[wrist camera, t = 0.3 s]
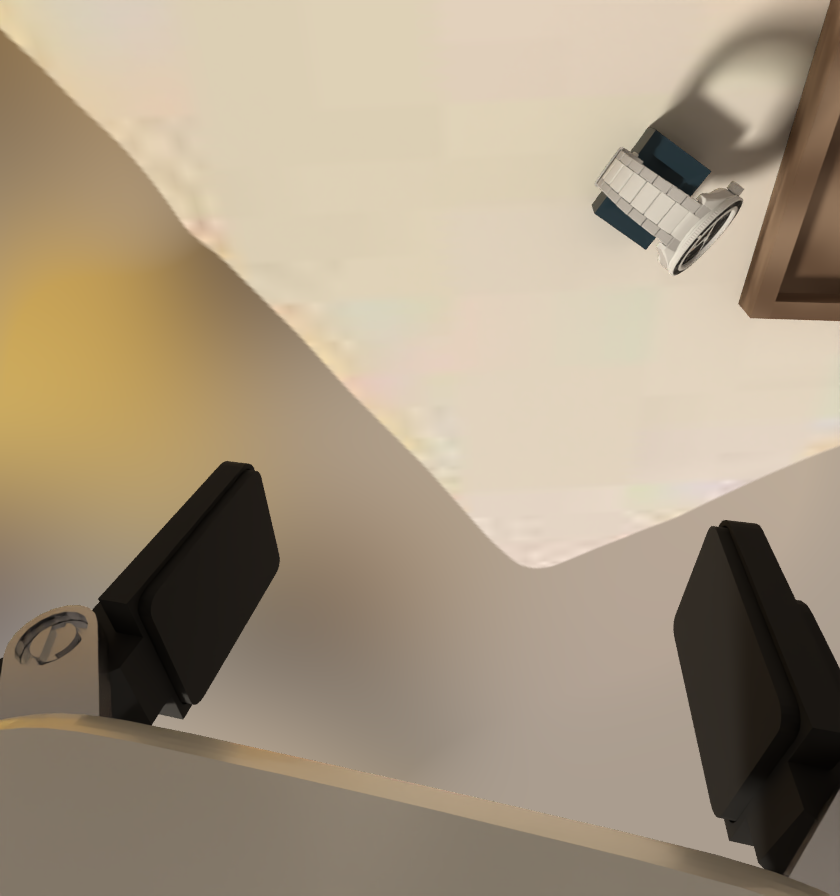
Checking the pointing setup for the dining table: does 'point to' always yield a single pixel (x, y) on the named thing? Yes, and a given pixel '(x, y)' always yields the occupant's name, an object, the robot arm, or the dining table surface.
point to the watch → (664, 201)
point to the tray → (804, 203)
